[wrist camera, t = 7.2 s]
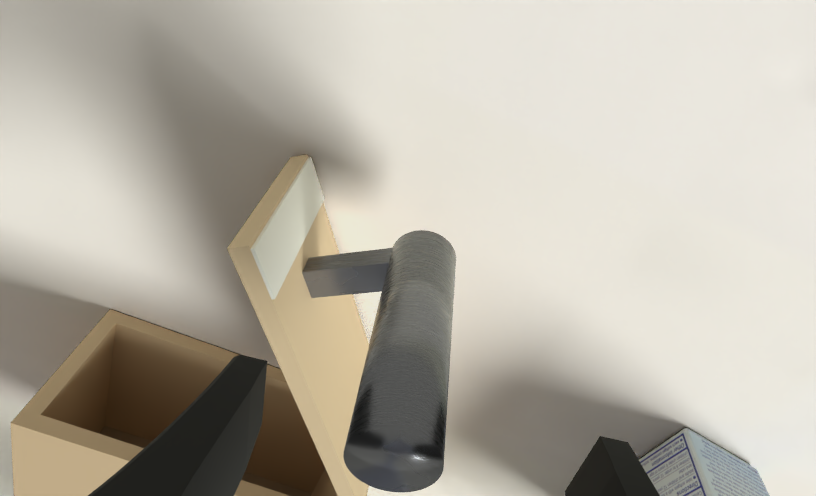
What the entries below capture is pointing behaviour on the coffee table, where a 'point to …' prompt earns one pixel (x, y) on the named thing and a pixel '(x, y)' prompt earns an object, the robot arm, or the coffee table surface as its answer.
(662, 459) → the medicine box
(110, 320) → the carton
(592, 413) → the coffee table surface
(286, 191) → the wooden box lid
